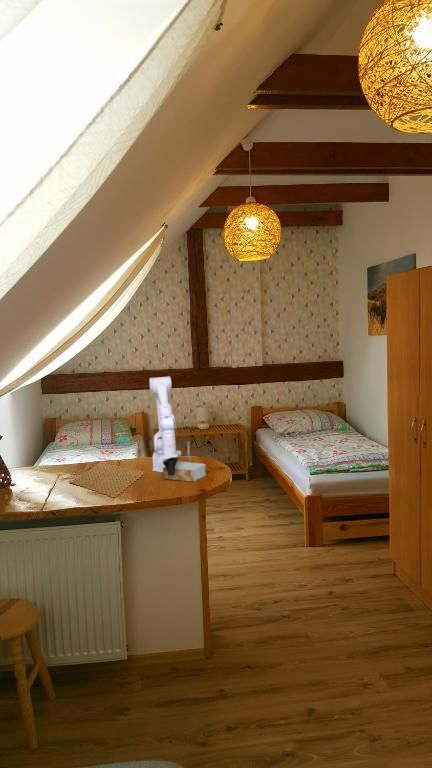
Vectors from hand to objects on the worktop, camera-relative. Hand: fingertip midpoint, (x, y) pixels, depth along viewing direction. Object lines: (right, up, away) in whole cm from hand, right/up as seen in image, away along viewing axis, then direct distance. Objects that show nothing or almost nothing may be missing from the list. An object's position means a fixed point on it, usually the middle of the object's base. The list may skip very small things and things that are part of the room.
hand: (170, 475), depth 248 cm
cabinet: (+6, -2, +8) cm, 10 cm away
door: (+3, -2, +1) cm, 4 cm away
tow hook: (+10, 0, +23) cm, 25 cm away
